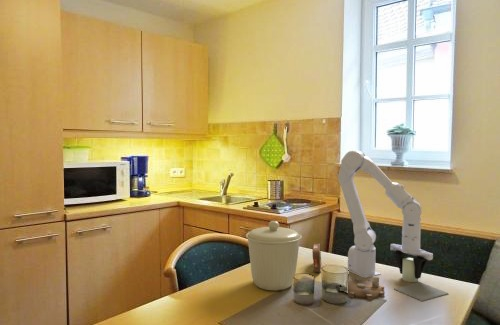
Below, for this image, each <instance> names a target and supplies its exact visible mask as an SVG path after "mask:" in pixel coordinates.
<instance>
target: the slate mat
mask: <svg viewBox="0 0 500 325" xmlns="http://www.w3.org/2000/svg"><path fill="white" fill-rule="evenodd" d="M394 291H396V292H399V293H402V294H404V295H406V296H409V297H410V298H413V299H415V300H417V301H420V302H424V301H428V300H432V299H435V298H439V297H440V298H441V297H443V296H447V295H449V292H447V291H444V290H441V289H439V288H436V287H433V286H431V285H428V284H426V283H423V282H419V281H418V282H414V283H412V284H407V285H403V286H398V287H395V288H394Z"/></svg>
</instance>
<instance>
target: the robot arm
mask: <svg viewBox="0 0 500 325" xmlns="http://www.w3.org/2000/svg"><path fill="white" fill-rule="evenodd" d="M359 170H360V171H361V172H366V173H368V174H370V175H371V176H372V177H373V178H374V180H376V181H377V182H378V183H379V184H380V185H381V186H382V187H383V188H384V189H385V193H384V194H385V196H386V197H387V198H389V200H391V202H393V204H394V205H395V206H396V207H397V208H399V209H401V213H402V216H403V218H402V224H401V225H402V227H401V228H402V229H401V244H398V243H397V244H396V243H390V247H389V248H390V251H395V252H394V253H393V256H394V258H395V260H396V264H397V266H398V269H399V274H401V275H402V264H403V258H408V255H412V256H415V257H412V258H413V261H414V265H415V278H416V279H418V280H419V279H421V276H422V273H423V270H424V268H425V266H426V264H427V263H428V261H432V260H434V254H433V253H432V252H429V251H426V250H424V249H421V233H422V232H421V231H422V230H421V229H422V228H421V227H422V223H421V221H422V220H421V215H422V205H421V204H420V202H419V201H418V200H417V199H416V198H415V196H414V195H413V196H412V195H411V194H410V193H409V192H408V191H407V190H406V189H405V186H404V184H401V183H398V182H392V180H391V179H390V178H389V177H388V176H387V175H386V174H385V172H383V170H382V169H381V168H380V167H379V166H378V165H377V164H376V163H375V161H373V159H371V158H370V157H368V156H367V155H366V154H365V152H363V151H361V150H350V151H348V152H346V153H345V155H344V156H343V157H342V158H341V161H340V167H339V171H338V175H337V177H338V178H337V179H338V182H339V185H340V188H341V191H342V194H343V197H344V200H345V203H346V206H347V209H348V212H349V216H350V218H351V223H352V226H353V229H352V230H353V234H354V235H353V236H354V239H353V242H354V245H352V246H351V247H349V250H348V252H347V268H348V269H349V271H348V272H350V273H352V274H355V275H357V276H359V277H360V278H361V277H362V278H365V279H366V278H370V277H371V278H372V276H379V275H381V272H379V271H376V255H377V254H376V251H377V250H376V249H377V248H376V247H375V245H374V243H375V242H376V240H377V234H376V231H374V230H373V229H372V228H371V225H370V222H369V221H368V220H367V217H366V213H365V210H364V207H363V204H362V201H361V199H360V196H359V192H358V189H357V187H356V183H355V180H354V177H355V176H356V174H357V172H358V171H359Z"/></svg>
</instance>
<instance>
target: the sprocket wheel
mask: <svg viewBox="0 0 500 325" xmlns="http://www.w3.org/2000/svg"><path fill="white" fill-rule="evenodd" d="M347 281H348V280H347ZM347 295H348V297H349V298H353V299H355V298H359V299H366V300H367V301H372V300H373V299H375V298H379V297H381V298H383V297H385V286H383V285H380V277H379V275H376V276H371V280H363V279H357V278H351V279H349V281H348V294H347Z"/></svg>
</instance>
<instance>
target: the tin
mask: <svg viewBox="0 0 500 325" xmlns="http://www.w3.org/2000/svg"><path fill="white" fill-rule="evenodd" d="M321 250H322V249H321V243H313V244H312V261H313V267H312V269H313V272H315V273H321V271H322V254H321V253H322V252H321Z"/></svg>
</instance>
